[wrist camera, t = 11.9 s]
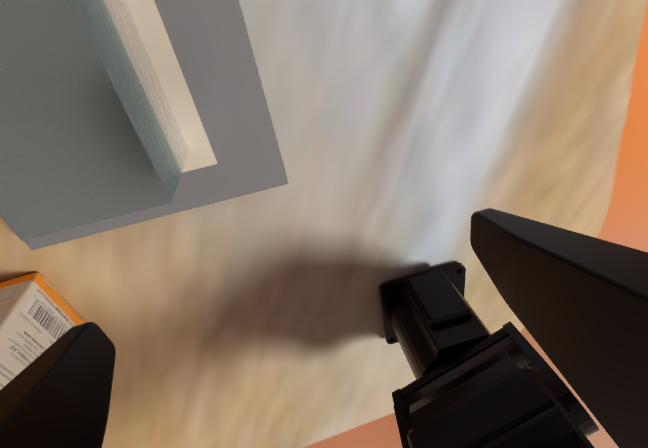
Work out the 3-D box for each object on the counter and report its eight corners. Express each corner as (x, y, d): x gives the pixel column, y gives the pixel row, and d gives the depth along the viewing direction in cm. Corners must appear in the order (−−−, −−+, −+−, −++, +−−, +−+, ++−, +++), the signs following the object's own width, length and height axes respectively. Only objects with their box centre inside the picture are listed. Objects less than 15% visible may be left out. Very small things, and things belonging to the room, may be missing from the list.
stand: (285, 171, 19) (288, 184, 18) (45, 233, 19) (30, 251, 17) (192, -167, 12) (187, -188, 11) (-210, -90, 11) (-271, -102, 10)
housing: (109, -38, 12) (42, -56, 8) (189, 150, 16) (171, 202, 12) (-40, -7, 12) (-189, -8, 8) (79, 177, 16) (22, 240, 12)
